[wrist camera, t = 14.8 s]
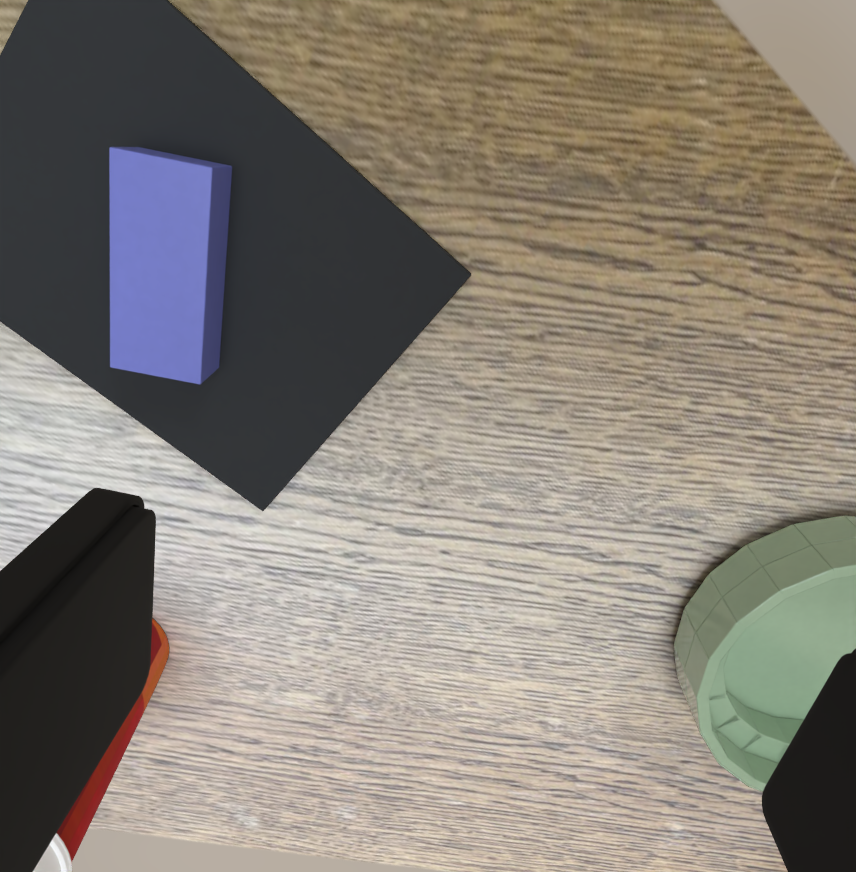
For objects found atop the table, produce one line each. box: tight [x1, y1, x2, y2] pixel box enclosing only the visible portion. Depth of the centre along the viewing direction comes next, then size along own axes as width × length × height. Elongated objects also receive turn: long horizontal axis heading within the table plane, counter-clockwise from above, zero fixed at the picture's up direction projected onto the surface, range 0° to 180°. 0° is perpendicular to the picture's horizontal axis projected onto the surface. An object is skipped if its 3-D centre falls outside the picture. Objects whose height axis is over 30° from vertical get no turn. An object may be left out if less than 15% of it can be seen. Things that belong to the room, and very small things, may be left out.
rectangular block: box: [109, 147, 232, 384], centre depth 28 cm, size 9×4×2 cm, turn 169°
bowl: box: [674, 515, 856, 792], centre depth 34 cm, size 15×15×4 cm
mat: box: [0, 0, 471, 511], centre depth 30 cm, size 16×20×1 cm
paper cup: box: [33, 618, 169, 872], centre depth 32 cm, size 8×8×14 cm
